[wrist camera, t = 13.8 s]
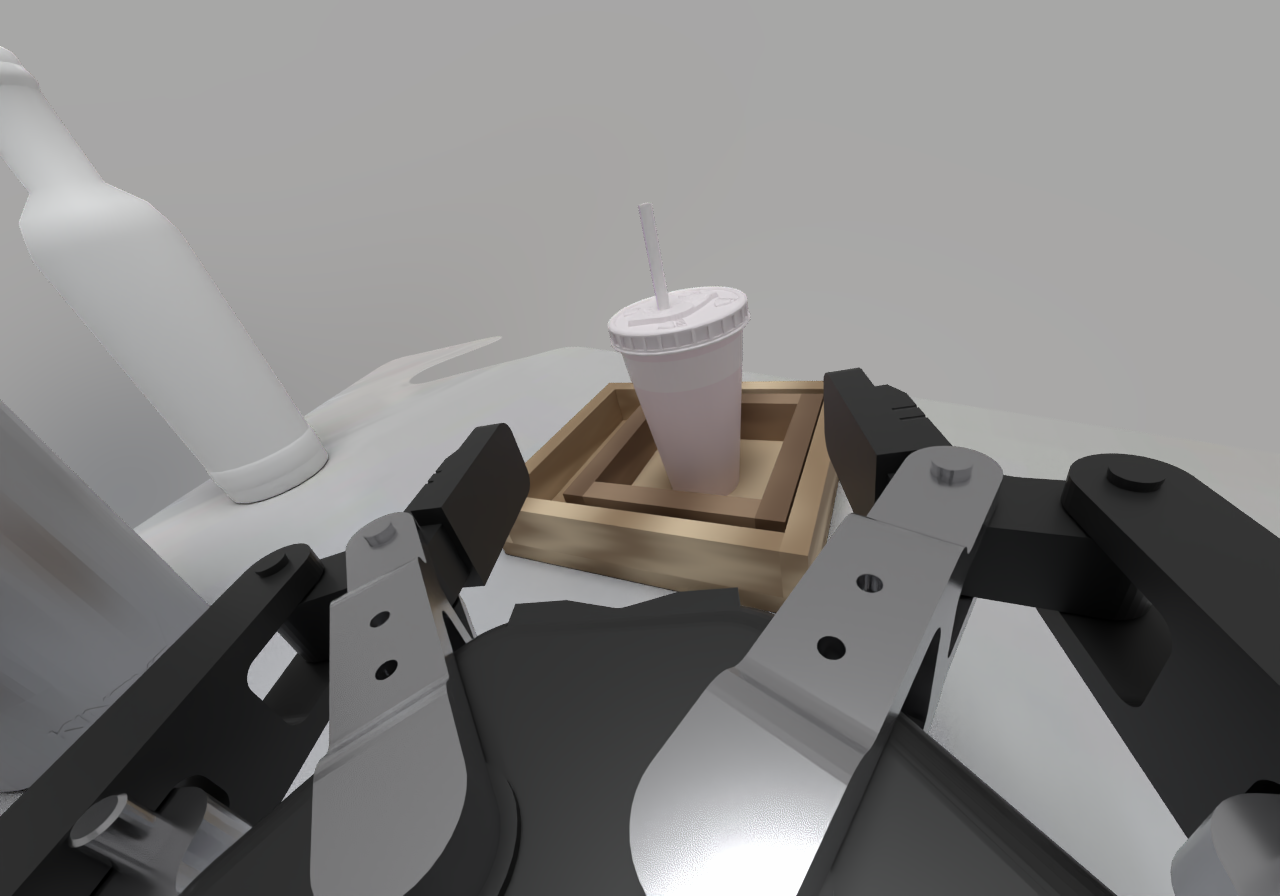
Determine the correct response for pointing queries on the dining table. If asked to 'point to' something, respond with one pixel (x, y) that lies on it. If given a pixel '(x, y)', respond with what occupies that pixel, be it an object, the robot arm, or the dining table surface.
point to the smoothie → (687, 373)
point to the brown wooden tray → (684, 499)
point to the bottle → (151, 305)
